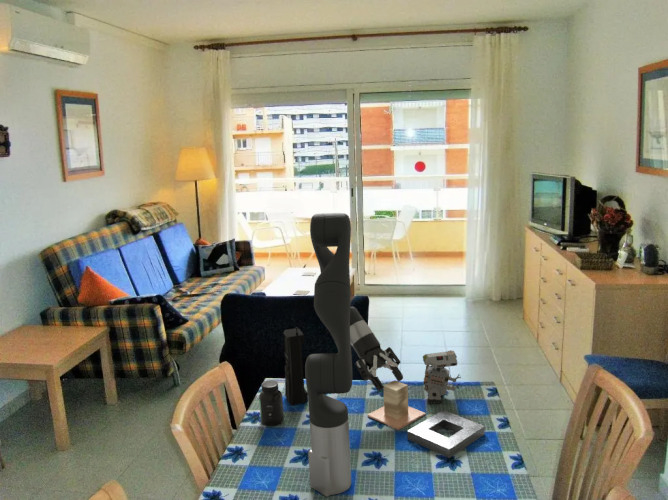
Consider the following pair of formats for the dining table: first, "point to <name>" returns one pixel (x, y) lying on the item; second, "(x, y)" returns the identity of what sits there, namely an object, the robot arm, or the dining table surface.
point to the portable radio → (294, 367)
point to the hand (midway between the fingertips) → (391, 384)
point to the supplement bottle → (271, 404)
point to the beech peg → (395, 399)
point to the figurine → (438, 374)
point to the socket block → (442, 444)
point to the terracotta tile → (396, 423)
